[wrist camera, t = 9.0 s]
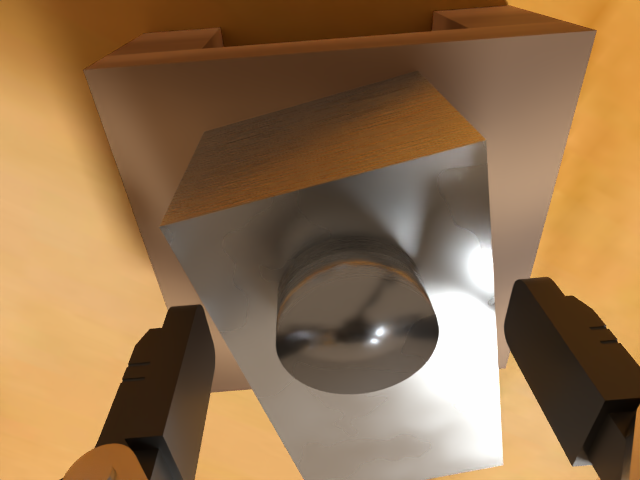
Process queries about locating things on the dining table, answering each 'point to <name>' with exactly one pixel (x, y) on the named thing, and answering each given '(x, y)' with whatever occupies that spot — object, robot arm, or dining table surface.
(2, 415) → the dining table surface
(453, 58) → the stand
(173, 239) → the housing
